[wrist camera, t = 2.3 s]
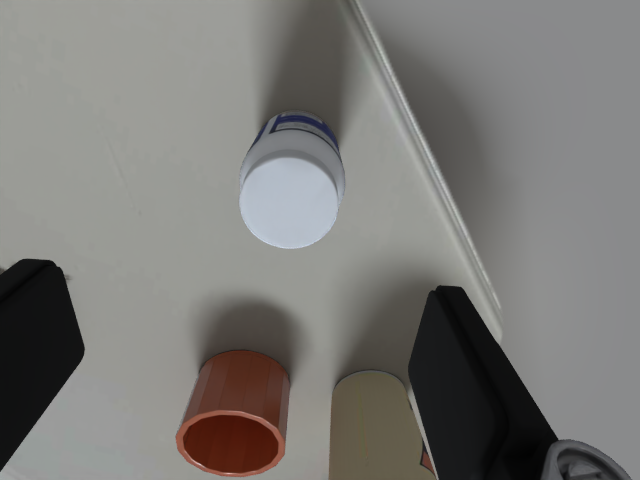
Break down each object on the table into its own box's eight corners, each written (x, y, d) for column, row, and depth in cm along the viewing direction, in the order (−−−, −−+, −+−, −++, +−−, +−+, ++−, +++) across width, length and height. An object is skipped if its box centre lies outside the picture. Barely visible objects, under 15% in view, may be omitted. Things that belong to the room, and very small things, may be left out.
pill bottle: (289, 203, 27) (276, 277, 19) (240, 141, 25) (199, 191, 16) (353, 161, 26) (373, 219, 17) (307, 90, 24) (301, 116, 15)
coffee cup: (402, 427, 40) (433, 564, 30) (318, 421, 40) (319, 559, 29) (423, 367, 36) (469, 502, 25) (330, 359, 35) (336, 495, 25)
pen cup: (292, 352, 35) (287, 413, 29) (287, 415, 39) (282, 479, 33) (194, 347, 34) (170, 407, 29) (201, 411, 39) (181, 474, 33)
